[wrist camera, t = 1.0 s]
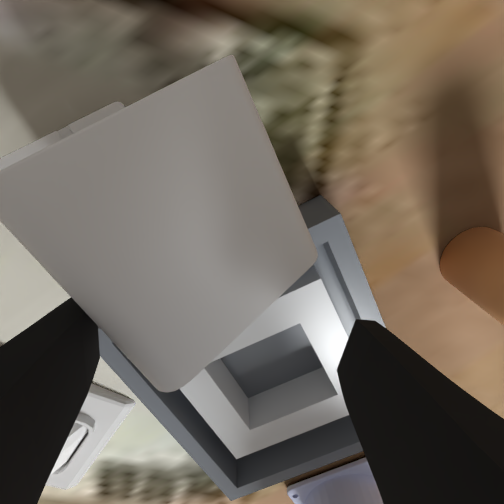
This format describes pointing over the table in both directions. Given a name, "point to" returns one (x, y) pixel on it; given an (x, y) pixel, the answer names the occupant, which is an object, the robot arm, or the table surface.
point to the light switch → (89, 435)
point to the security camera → (163, 220)
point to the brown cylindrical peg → (477, 268)
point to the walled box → (272, 376)
